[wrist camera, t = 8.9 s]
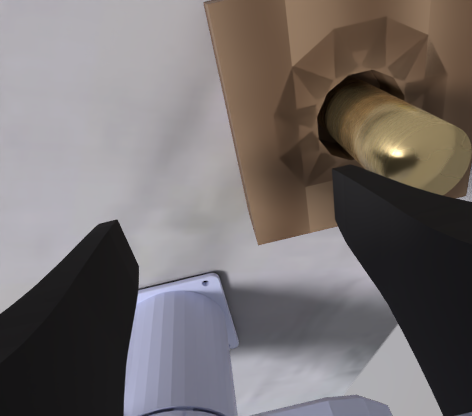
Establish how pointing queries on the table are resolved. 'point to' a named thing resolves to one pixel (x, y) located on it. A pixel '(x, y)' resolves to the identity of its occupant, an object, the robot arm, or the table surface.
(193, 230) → the table surface
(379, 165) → the brass peg
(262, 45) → the socket block
